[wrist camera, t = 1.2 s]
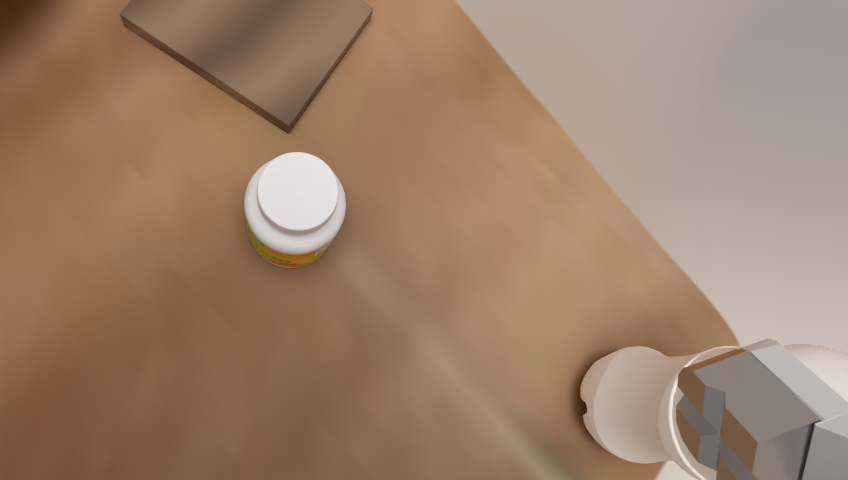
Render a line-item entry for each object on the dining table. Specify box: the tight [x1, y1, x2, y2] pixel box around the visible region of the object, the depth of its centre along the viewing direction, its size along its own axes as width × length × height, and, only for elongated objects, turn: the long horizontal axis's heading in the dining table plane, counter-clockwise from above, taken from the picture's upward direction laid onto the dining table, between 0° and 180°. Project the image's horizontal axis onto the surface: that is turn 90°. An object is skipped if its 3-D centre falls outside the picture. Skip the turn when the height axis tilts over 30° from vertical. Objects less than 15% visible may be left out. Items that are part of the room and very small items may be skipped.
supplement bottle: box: [244, 152, 346, 268], centre depth 37 cm, size 5×5×10 cm
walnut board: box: [120, 0, 373, 133], centre depth 42 cm, size 12×10×2 cm
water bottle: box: [580, 344, 848, 480], centre depth 33 cm, size 7×7×25 cm
